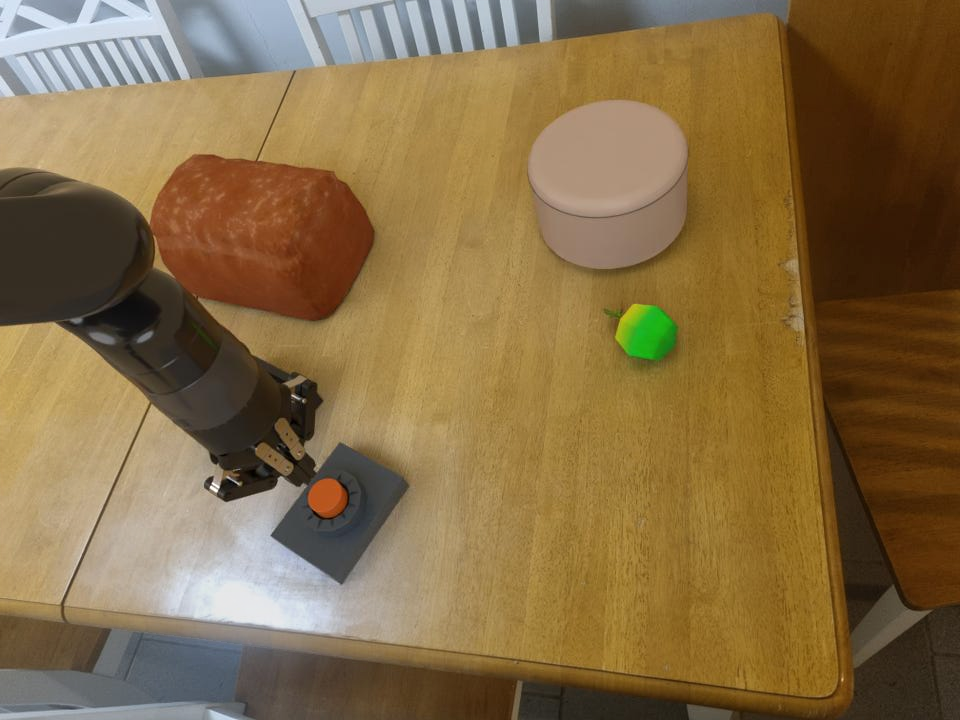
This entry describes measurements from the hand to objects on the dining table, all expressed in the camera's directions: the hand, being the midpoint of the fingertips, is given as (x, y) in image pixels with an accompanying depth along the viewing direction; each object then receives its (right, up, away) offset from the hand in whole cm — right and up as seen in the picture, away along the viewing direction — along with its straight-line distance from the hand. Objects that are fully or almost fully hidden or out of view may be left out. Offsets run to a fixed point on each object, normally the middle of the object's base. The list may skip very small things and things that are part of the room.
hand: (305, 475), depth 69 cm
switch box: (+2, -5, +8) cm, 10 cm away
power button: (+1, -3, +5) cm, 6 cm away
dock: (-10, +4, +17) cm, 20 cm away
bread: (-10, +24, +31) cm, 40 cm away
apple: (+34, +13, +12) cm, 38 cm away
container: (+33, +28, +22) cm, 49 cm away
